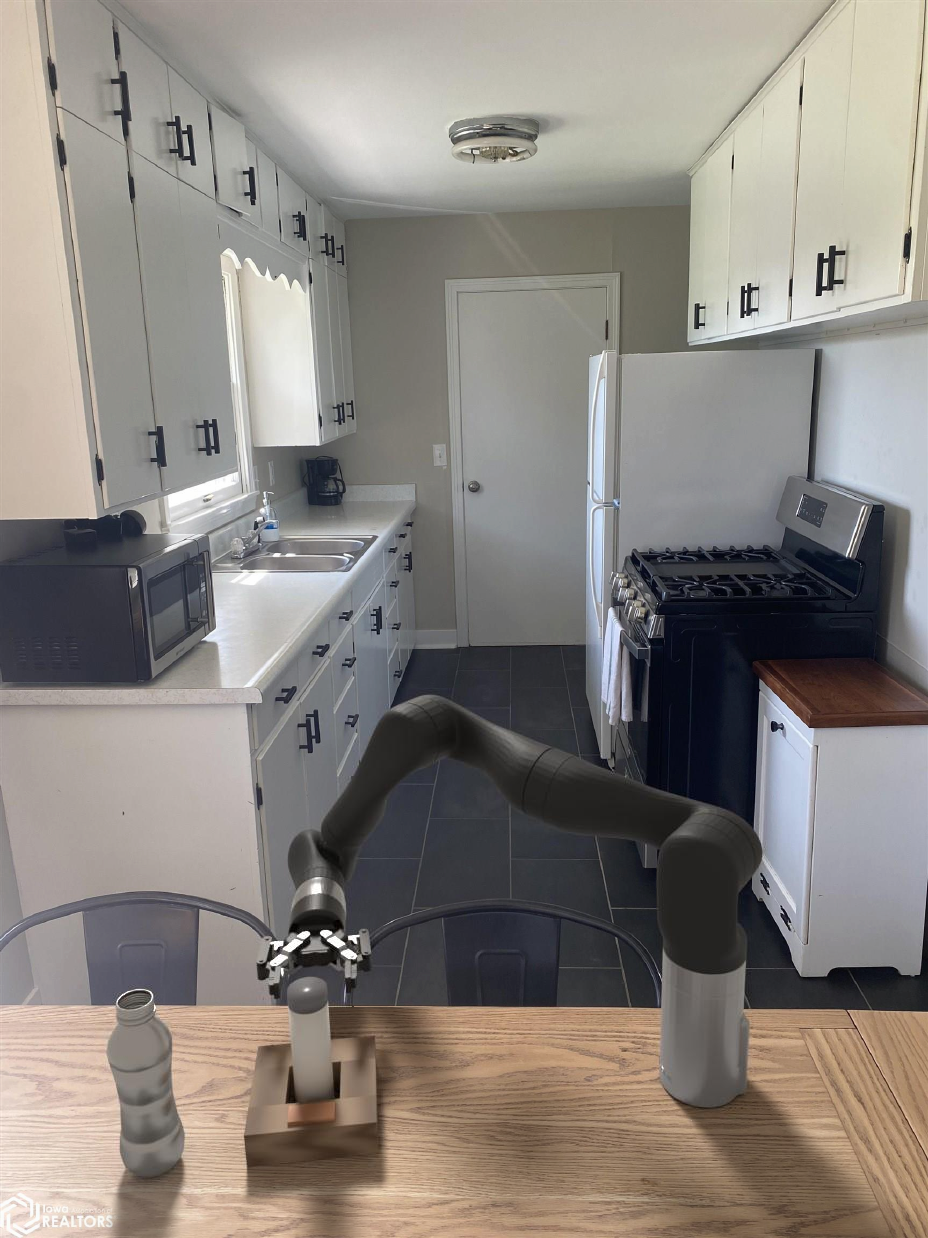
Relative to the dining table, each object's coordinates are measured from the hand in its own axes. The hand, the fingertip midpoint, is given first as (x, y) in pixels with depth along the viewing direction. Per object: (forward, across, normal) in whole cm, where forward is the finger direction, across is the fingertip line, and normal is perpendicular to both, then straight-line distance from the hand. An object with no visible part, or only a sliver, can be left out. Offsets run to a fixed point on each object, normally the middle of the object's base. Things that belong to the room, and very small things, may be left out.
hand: (312, 990), depth 112 cm
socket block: (+8, 0, +10) cm, 13 cm away
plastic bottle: (+13, -17, +11) cm, 24 cm away
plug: (+8, 0, +10) cm, 13 cm away
